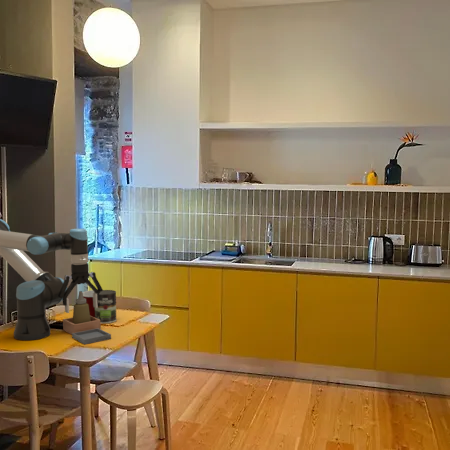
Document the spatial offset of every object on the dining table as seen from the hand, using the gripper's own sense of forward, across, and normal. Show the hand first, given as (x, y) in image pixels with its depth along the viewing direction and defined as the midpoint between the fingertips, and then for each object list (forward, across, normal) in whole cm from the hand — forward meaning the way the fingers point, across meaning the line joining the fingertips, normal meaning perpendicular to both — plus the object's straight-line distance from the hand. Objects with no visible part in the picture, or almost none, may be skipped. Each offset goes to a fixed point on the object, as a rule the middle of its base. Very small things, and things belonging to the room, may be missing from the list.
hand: (81, 309), depth 251 cm
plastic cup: (+10, +15, +20) cm, 27 cm away
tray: (+10, -2, -14) cm, 17 cm away
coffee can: (+10, +16, +8) cm, 20 cm away
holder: (+10, 0, 0) cm, 10 cm away
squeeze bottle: (+10, 0, 0) cm, 10 cm away
